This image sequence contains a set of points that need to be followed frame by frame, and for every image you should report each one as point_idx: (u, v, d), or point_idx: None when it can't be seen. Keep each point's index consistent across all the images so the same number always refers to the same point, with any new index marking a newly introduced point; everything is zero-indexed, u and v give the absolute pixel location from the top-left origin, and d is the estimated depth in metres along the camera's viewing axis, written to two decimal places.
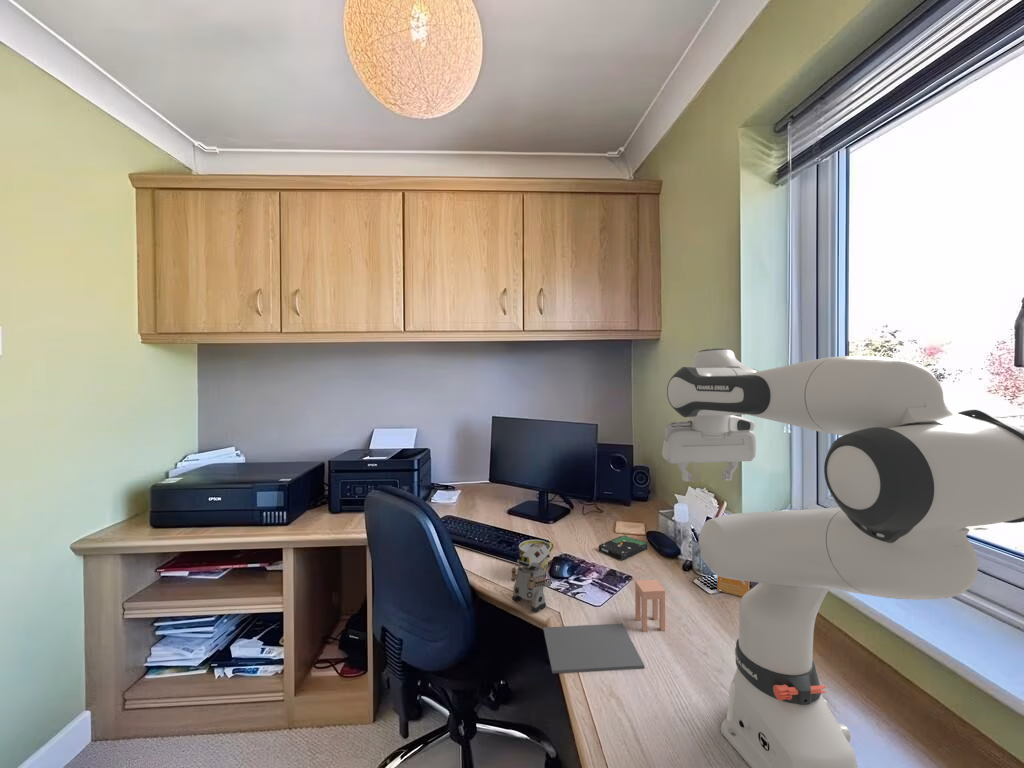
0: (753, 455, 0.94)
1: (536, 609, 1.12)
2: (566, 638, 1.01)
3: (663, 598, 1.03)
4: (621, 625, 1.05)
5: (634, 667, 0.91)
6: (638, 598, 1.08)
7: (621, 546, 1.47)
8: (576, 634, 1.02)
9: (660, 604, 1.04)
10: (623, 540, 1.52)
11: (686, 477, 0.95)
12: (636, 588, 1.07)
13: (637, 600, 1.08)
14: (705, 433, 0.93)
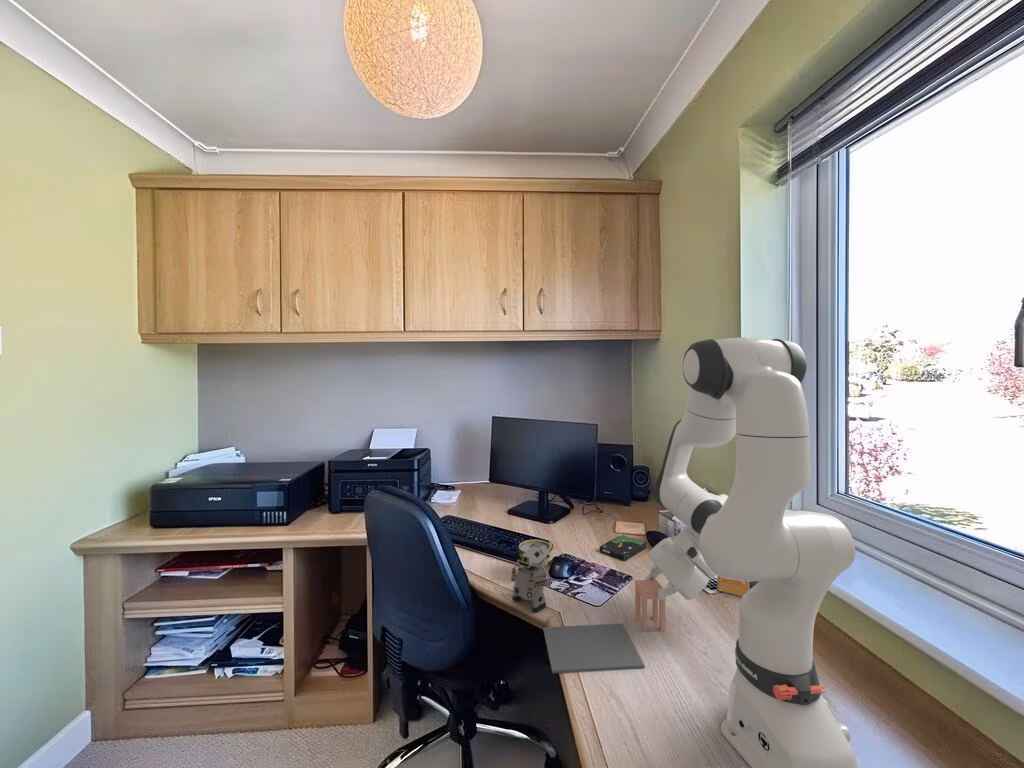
0: (681, 586, 0.97)
1: (536, 609, 1.12)
2: (566, 638, 1.01)
3: None
4: (621, 625, 1.05)
5: (634, 667, 0.91)
6: (638, 598, 1.08)
7: (622, 547, 1.47)
8: (576, 634, 1.02)
9: (660, 604, 1.04)
10: (622, 540, 1.52)
11: (647, 576, 1.10)
12: (636, 588, 1.07)
13: (637, 600, 1.08)
14: None
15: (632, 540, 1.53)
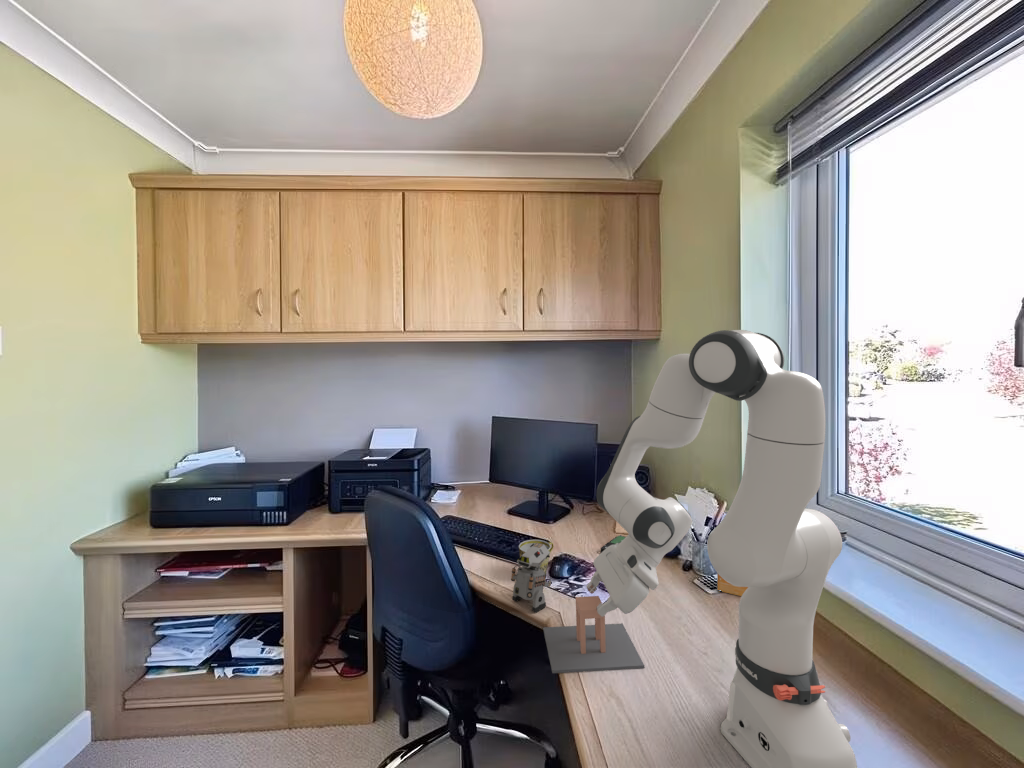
0: (618, 598, 0.88)
1: (536, 609, 1.12)
2: (566, 638, 1.01)
3: (603, 617, 0.95)
4: (621, 625, 1.05)
5: (634, 667, 0.91)
6: (578, 616, 0.99)
7: None
8: (576, 634, 1.02)
9: (600, 623, 0.95)
10: (621, 541, 1.52)
11: (588, 583, 1.03)
12: (576, 605, 0.99)
13: (577, 619, 0.99)
14: None
15: None
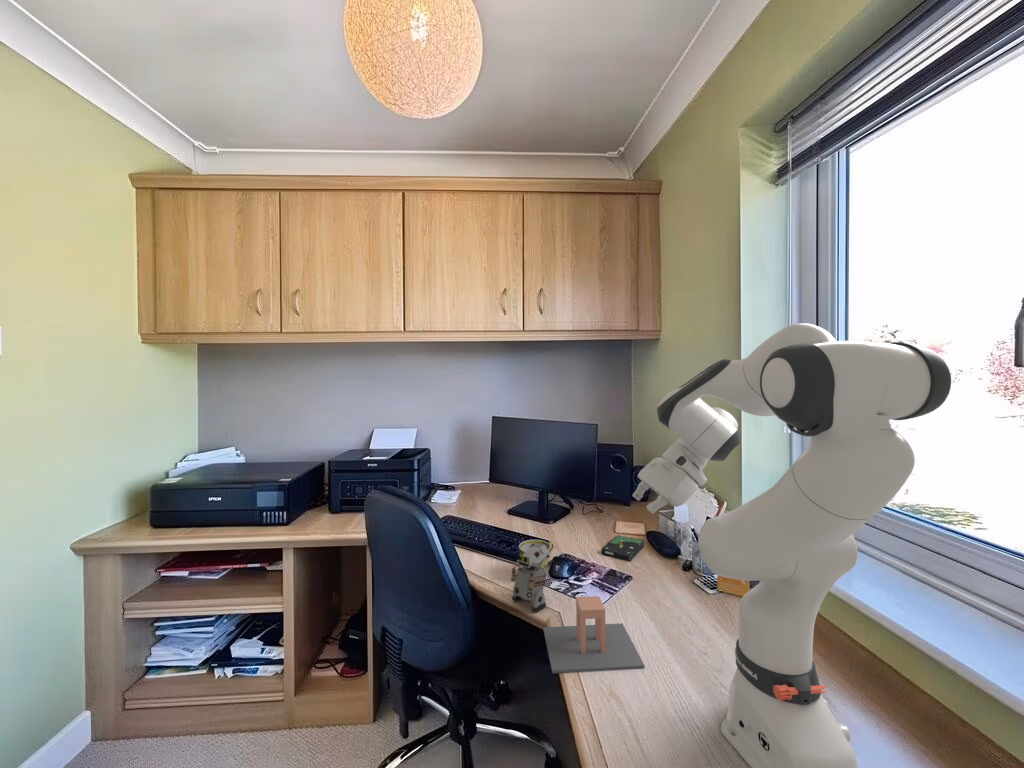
0: (670, 492, 0.94)
1: (536, 609, 1.12)
2: (566, 638, 1.01)
3: (603, 617, 0.95)
4: (621, 625, 1.05)
5: (634, 667, 0.91)
6: (579, 616, 0.99)
7: (624, 547, 1.47)
8: (576, 634, 1.02)
9: (600, 624, 0.95)
10: (621, 541, 1.52)
11: (634, 492, 1.08)
12: (577, 605, 0.99)
13: (578, 619, 0.99)
14: None
15: (630, 539, 1.53)
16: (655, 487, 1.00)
